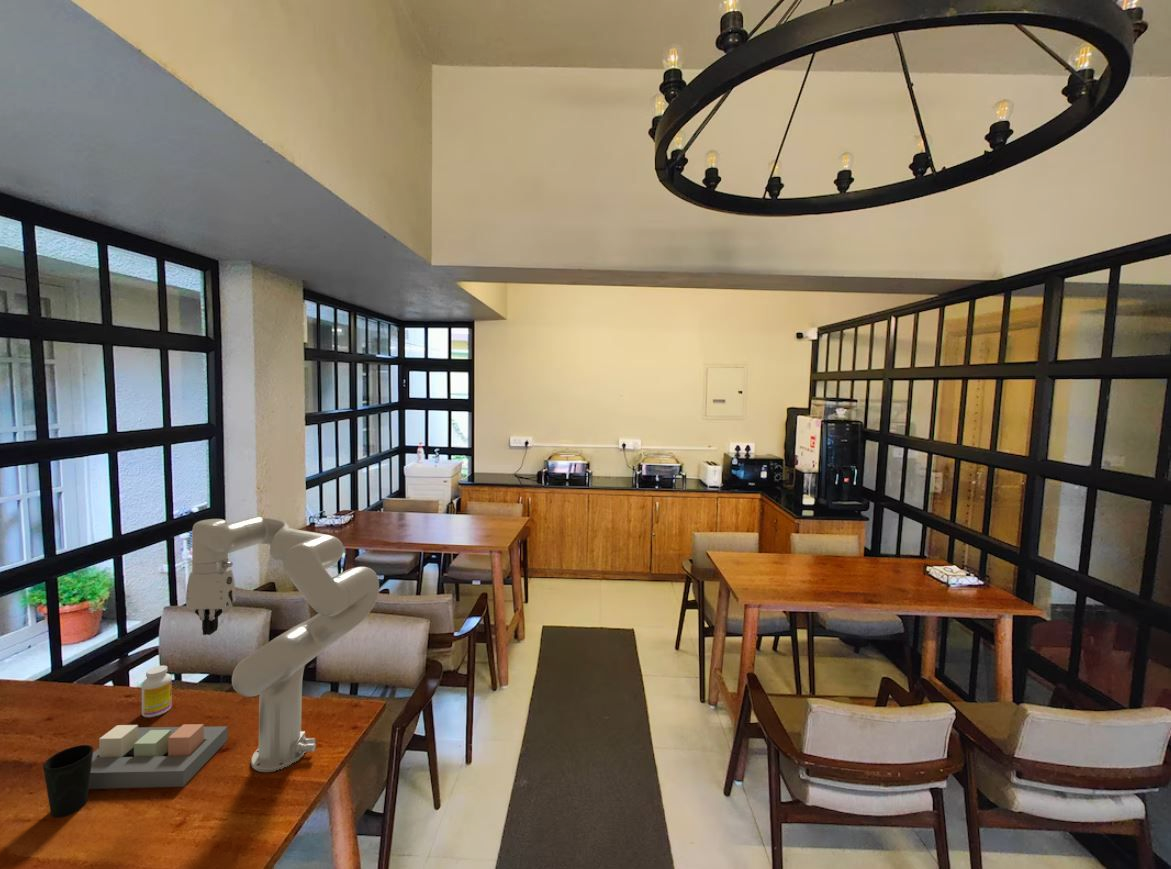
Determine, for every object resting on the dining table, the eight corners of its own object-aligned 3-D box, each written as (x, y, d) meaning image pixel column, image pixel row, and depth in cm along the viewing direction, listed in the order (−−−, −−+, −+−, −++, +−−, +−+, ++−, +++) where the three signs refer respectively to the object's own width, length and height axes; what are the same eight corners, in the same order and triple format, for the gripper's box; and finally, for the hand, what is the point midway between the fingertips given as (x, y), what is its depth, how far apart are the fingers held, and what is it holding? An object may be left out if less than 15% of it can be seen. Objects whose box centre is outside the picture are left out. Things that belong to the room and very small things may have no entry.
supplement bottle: (175, 709, 142) (175, 668, 141) (146, 721, 136) (146, 678, 135) (166, 701, 145) (166, 661, 144) (138, 712, 139) (138, 670, 139)
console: (227, 740, 130) (227, 726, 130) (183, 786, 114) (183, 770, 114) (125, 741, 128) (125, 727, 128) (66, 789, 112) (66, 773, 112)
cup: (92, 788, 113) (91, 739, 112) (95, 806, 108) (95, 755, 107) (43, 808, 107) (42, 757, 106) (44, 828, 102) (43, 775, 101)
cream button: (138, 743, 123) (138, 724, 123) (121, 757, 118) (120, 738, 118) (117, 743, 122) (117, 725, 122) (99, 757, 117) (99, 738, 117)
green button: (171, 748, 124) (171, 729, 123) (155, 762, 119) (155, 743, 118) (150, 748, 123) (150, 730, 123) (134, 762, 118) (134, 743, 118)
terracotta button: (203, 742, 124) (203, 724, 124) (189, 756, 119) (189, 737, 119) (183, 742, 124) (183, 724, 124) (168, 756, 119) (168, 737, 119)
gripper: (248, 562, 131) (248, 626, 132) (191, 561, 129) (190, 626, 130) (230, 571, 123) (230, 639, 124) (169, 570, 122) (169, 639, 123)
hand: (210, 632), depth 127 cm, fingers closed
